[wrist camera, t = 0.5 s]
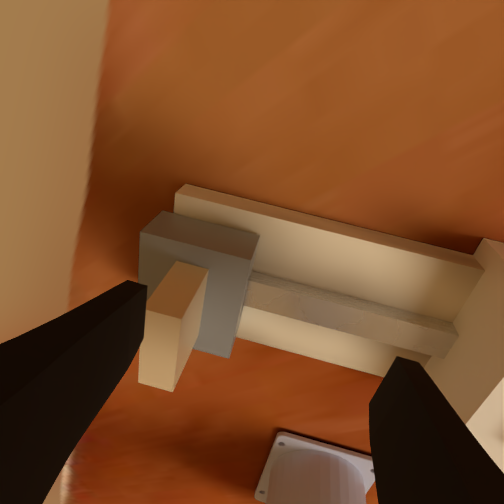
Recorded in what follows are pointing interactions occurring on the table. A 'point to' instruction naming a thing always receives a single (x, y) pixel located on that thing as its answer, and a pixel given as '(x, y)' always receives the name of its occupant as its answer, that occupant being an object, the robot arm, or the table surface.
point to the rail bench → (337, 275)
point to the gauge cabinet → (479, 356)
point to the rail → (350, 314)
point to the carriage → (190, 292)
